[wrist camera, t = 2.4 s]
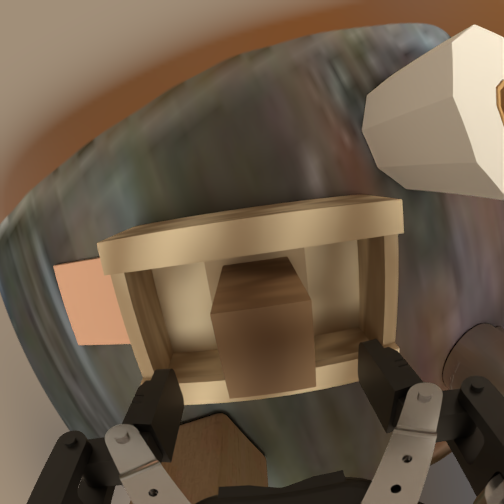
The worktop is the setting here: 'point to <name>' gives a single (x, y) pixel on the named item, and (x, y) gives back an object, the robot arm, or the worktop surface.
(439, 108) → the toilet paper
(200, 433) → the wooden block
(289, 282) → the walnut block
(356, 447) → the worktop surface
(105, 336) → the tile
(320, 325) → the crate
